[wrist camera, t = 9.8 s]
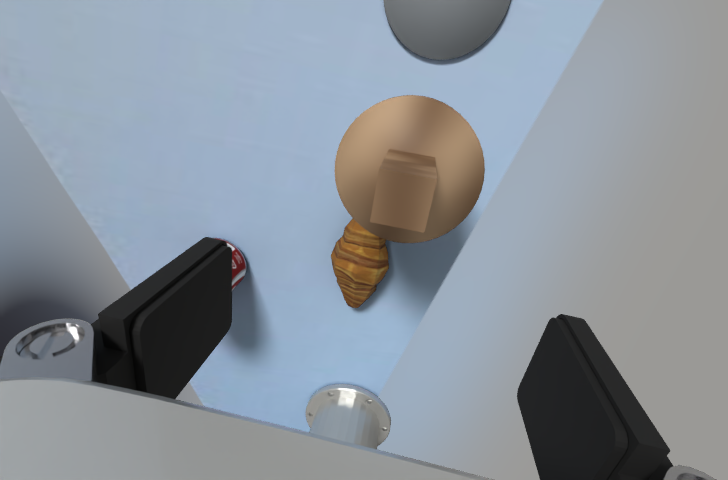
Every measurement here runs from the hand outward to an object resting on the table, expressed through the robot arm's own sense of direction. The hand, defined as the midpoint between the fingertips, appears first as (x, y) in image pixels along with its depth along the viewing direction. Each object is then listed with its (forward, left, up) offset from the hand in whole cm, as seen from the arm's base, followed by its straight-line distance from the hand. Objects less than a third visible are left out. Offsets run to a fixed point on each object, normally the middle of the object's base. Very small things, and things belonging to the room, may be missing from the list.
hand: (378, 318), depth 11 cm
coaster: (+11, -8, -30) cm, 33 cm away
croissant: (-9, +10, -31) cm, 34 cm away
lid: (0, 0, -18) cm, 18 cm away
